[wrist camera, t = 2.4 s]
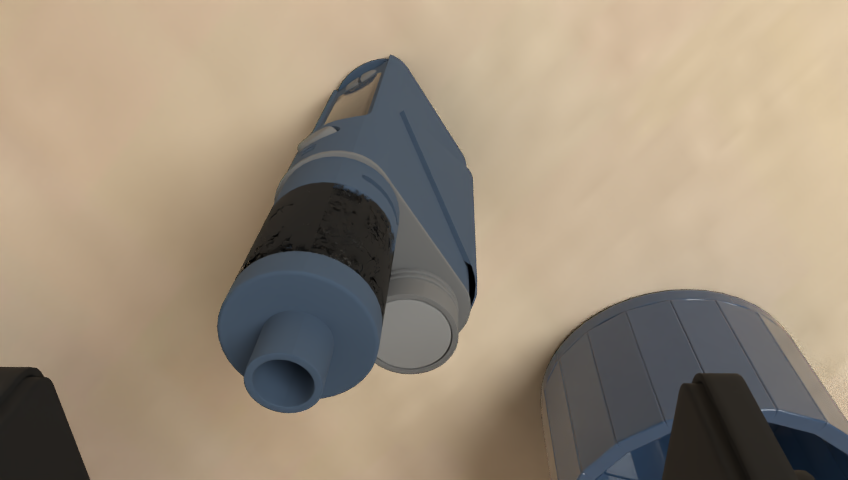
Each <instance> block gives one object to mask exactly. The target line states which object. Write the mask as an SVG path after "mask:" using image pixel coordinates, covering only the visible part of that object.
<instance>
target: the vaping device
mask: <svg viewBox="0 0 848 480" xmlns="http://www.w3.org/2000/svg"><path fill="white" fill-rule="evenodd" d="M297 150H298V152H297V154H296V156H295V158H294V160H293V162H292V164H291V166H290V167H289V169H288V171H287V173H286V174H285V176H284V177H283V179H282V180H281V182H280V184H279V186H278V188H277V191H276V195H275V202H274V205H273V207H272V209H271V211H270V213H269V215H268V217H267V219H266V221H265V223H264V224H263V226H262V228H261V230H260V232H259V234H258V236H257V238H256V240H255V242H254V244H253V246H252V248H251V250H250V252H249V254H248V255H247V258H246V259H245V261H244V262H245V263H243V264H244V265H245V266H244V265H242V266H244V267H243V268H244V270H241V272H240V273H238V274H239V275H237V277H236V279H235V281H234V283H233V285H232V286H231V288H230V290H229V292H228V294H227V296H226V298H225V300H224V302H223V304H222V306H221V309H220V312H219V315H218V324H217V329H218V337H219V341H220V344H221V347H222V350H223V352H224V353H225V355H226V357H227V359H228V360H229V362H230V363H231V364H232V365H233V367H234V368H235V369H236V370H237V371H238V372H239V373H240V374H241V375H242V376H244V384H245V387H246V389H247V391H248V393H249V394H250V396H251V397H252V398H253V399H254V400H255V401H256V402H257V403H259V404H260V405H262V406H263V407H266V408H268V409H270V410H273V411H276V412H281V413H296V412H301V411H304V410H307V409H309V408H311V407H312V406H313V405H315V404H316V403H317V402H318V400H319V399H321V398H326V397H331V396H335V395H338V394H340V393H343V392H345V391H347V390H349V389H351V388H352V387H354V386H356V385H357V384H358V383H359V382H360V381H362V380H363V379H364V378H365V377H366V375H367V374H368V373H369V372H370V371H371V369H372V367H373V365H374V363H376V364H377V365H378V366H380V367H382V368H384V369H386V370H389V371H392V372H396V373H401V374H419V373H424V372H428V371H431V370H433V369H436V368H437V367H439V366H441V365H442V364H444V363H445V362H446V361H447V360H448V359H449V358H450V357H451V356H452V354H453V353H454V351H455V349H456V346H457V343H458V333H459V332H460V331H461V330H462V328H463V327H464V326H465V324H466V322H467V320H468V318H469V315H470V311H471V308H472V306H473V304H474V301H475V298H476V295H477V269H476V245H475V221H474V197H473V177H472V174H471V172H470V171H469V169H468V168H467V167H466V162H465V158H464V156H463V154H462V153H461V151H460V149H459V148H458V146H457V145H456V143H455V142H454V140H453V138H452V137H451V135H450V134H449V132H448V130H447V129H446V127H445V126H444V124H443V123H442V121H441V119H440V118H439V116H438V115H437V113H436V112H435V110H434V108H433V107H432V105H431V104H430V102H429V101H428V99H427V97H426V96H425V94H424V93H423V91H422V90H421V88H420V86H419V85H418V83H417V82H416V80H415V79H414V77H413V75H412V74H411V72H410V71H409V69H408V68H407V66H406V65H405V64H404V63H403V62H402V61H401V60H400V59H398V58H396V57H395V56H393V55H390V57H389V59H377V60H373V61H370V62H367V63H365V64H363V65H361V66H359V67H358V68H356V69H355V70H353V71H352V72H351V73H350V74H349V75H348V76H347V77H346V78H345V79H344V80H343V82H342V84H341V85H340V87H339V89H338V90H334V91H333V93H332V95H331V97H330V99H329V101H328V103H327V105H326V107H325V109H324V111H323V112H322V114H321V116H320V118H319V120H318V122H317V124H316V126H315V128H314V130H313V132H312V133H311V134H310V135H309V136H308V137H307V138H306V139H304V140H303V141H302V142H301V143H300V144H299V145H298V148H297ZM258 248H259V249H258ZM256 257H257V258H256ZM248 261H249V262H248ZM247 263H248V264H247ZM247 266H248V267H247ZM241 268H242V267H241Z"/></svg>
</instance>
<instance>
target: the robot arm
mask: <svg viewBox="0 0 848 480" xmlns="http://www.w3.org/2000/svg"><path fill="white" fill-rule="evenodd" d="M0 480H90V478H89V476H88V473H87V471H86V468H85V465H84V463H83V460H82V458H81V455H80V452H79V450H78V447H77V445H76V442H75V439H74V437H73V434H72V432H71V429H70V426H69V424H68V421H67V419H66V416H65V413H64V411H63V408H62V406H61V403H60V400H59V398H58V395H57V393H56V390H55V387H54V385H53V383H52V381H51V380H50V379H49V378H47V377H44V376H43V374H42V373H41V371H40V370H38V369H37V368H32V367H0ZM662 480H815V478H814V477H813V476H812V475H811V474H809V473H808V472H807V471H804V470H793V468H792V466H791V465H790V463H789V461H788V459H787V457H786V455H785V454H784V452H783V450H782V448H781V446H780V444H779V443H778V441H777V439H776V437H775V435H774V433H773V431H772V430H771V428H770V426H769V424H768V422H767V420H766V419H765V417H764V415H763V413H762V411H761V409H760V408H759V406H758V404H757V402H756V400H755V398H754V396H753V395H752V393H751V391H750V389H749V387H748V385H747V384H746V382H745V380H744V379H743V377H742V376H741V375H739V374H738V373H698V374H696V375H695V376H694V378H693V381H692V383H683V384H682V385H681V386H680V390H679V394H678V399H677V404H676V410H675V415H674V420H673V425H672V430H671V435H670V440H669V445H668V451H667V456H666V461H665V466H664V471H663V476H662Z"/></svg>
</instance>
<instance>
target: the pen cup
mask: <svg viewBox="0 0 848 480" xmlns="http://www.w3.org/2000/svg"><path fill="white" fill-rule="evenodd" d="M698 373H738V374H739V375H741V376H742V377H743V379H744V380H745V382H746V384H747V385H748V387H749V389H750V391H751V393H752V395H753V396H754V398H755V400H756V402H757V404H758V406H759V408H760V409H761V411H762V413H763V415H764V417H765V419H766V420H767V422H768V424H769V426H770V428H771V430H772V431H773V433H774V435H775V437H776V439H777V441H778V443H779V444H780V446H781V448H782V450H783V452H784V454H785V455H786V457H787V459H788V461H789V463H790V465H791V466H792V468H793V470H804V471H807V472H808V473H809V474H811V475H812V476H813V477H814V478H815V480H848V421H847V419H846V418H845V416H844V415H843V413H842V412H841V410H840V409H839V407H838V406H837V405H836V403H835V402H834V400H833V399H832V397H831V396H830V394H829V393H828V391H827V390H826V388H825V387H824V385H823V384H822V382H821V381H820V379H819V378H818V376H817V375H816V373H815V372H814V370H813V369H812V368H811V366H810V365H809V363H808V362H807V360H806V359H805V357H804V356H803V354H802V353H801V351H800V350H799V348H798V347H797V345H796V344H795V342H794V341H793V339H792V338H791V336H790V335H789V334H788V333H787V331H786V330H785V329H784V328H783V327H782V325H781V324H780V323H779V322H778V321H777V320H776V319H774V318H773V317H772V316H771V315H770V314H769V313H767V312H766V311H764V310H762V309H761V308H759V307H757V306H756V305H754V304H752V303H749V302H747V301H745V300H743V299H740V298H738V297H734V296H731V295H727V294H724V293H719V292H712V291H706V290H689V289H685V290H668V291H662V292H655V293H650V294H646V295H642V296H638V297H635V298H631V299H629V300H626V301H623V302H621V303H618V304H615V305H613V306H611V307H610V308H608V309H606V310H604V311H602V312H600V313H598V314H597V315H595V316H593V317H592V318H590V319H589V320H587V321H586V322H584V323H583V324H582V325H581V326H580V327H578V328H577V329H576V330H575V331H574V332H572V333H571V335H570V336H569V337H568V338H567V339H566V340H565V341H564V342H563V343H562V344H561V346H560V347H559V348H558V350H557V351H556V353H555V354H554V356H553V357H552V359H551V361H550V363H549V365H548V367H547V370H546V373H545V375H544V378H543V382H542V389H541V408H542V424H543V431H544V438H545V445H546V452H547V458H548V465H549V472H550V479H551V480H662V476H663V471H664V466H665V461H666V456H667V451H668V445H669V440H670V435H671V430H672V425H673V420H674V415H675V410H676V404H677V399H678V394H679V390H680V386H681V385H682V384H683V383H692V381H693V378H694V376H695V375H696V374H698Z"/></svg>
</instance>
